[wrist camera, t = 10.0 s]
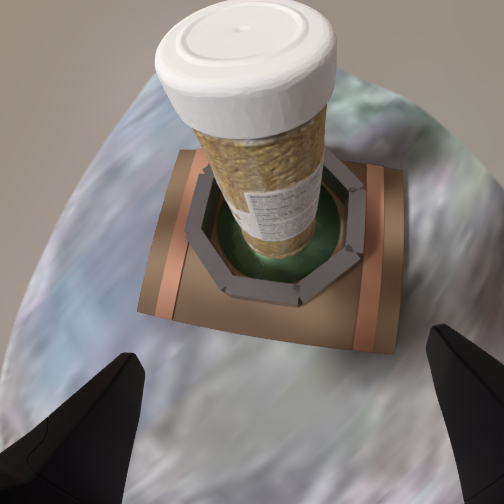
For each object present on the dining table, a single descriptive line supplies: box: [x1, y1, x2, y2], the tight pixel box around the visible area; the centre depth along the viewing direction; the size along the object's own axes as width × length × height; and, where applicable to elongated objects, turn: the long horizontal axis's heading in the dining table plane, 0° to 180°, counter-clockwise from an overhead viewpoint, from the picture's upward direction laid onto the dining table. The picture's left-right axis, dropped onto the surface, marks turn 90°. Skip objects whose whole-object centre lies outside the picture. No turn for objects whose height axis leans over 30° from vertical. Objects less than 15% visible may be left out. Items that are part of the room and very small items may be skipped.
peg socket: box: [184, 146, 366, 308], centre depth 18 cm, size 10×10×2 cm
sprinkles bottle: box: [155, 0, 337, 259], centre depth 12 cm, size 5×5×14 cm
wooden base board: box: [137, 149, 404, 354], centre depth 19 cm, size 12×16×1 cm
